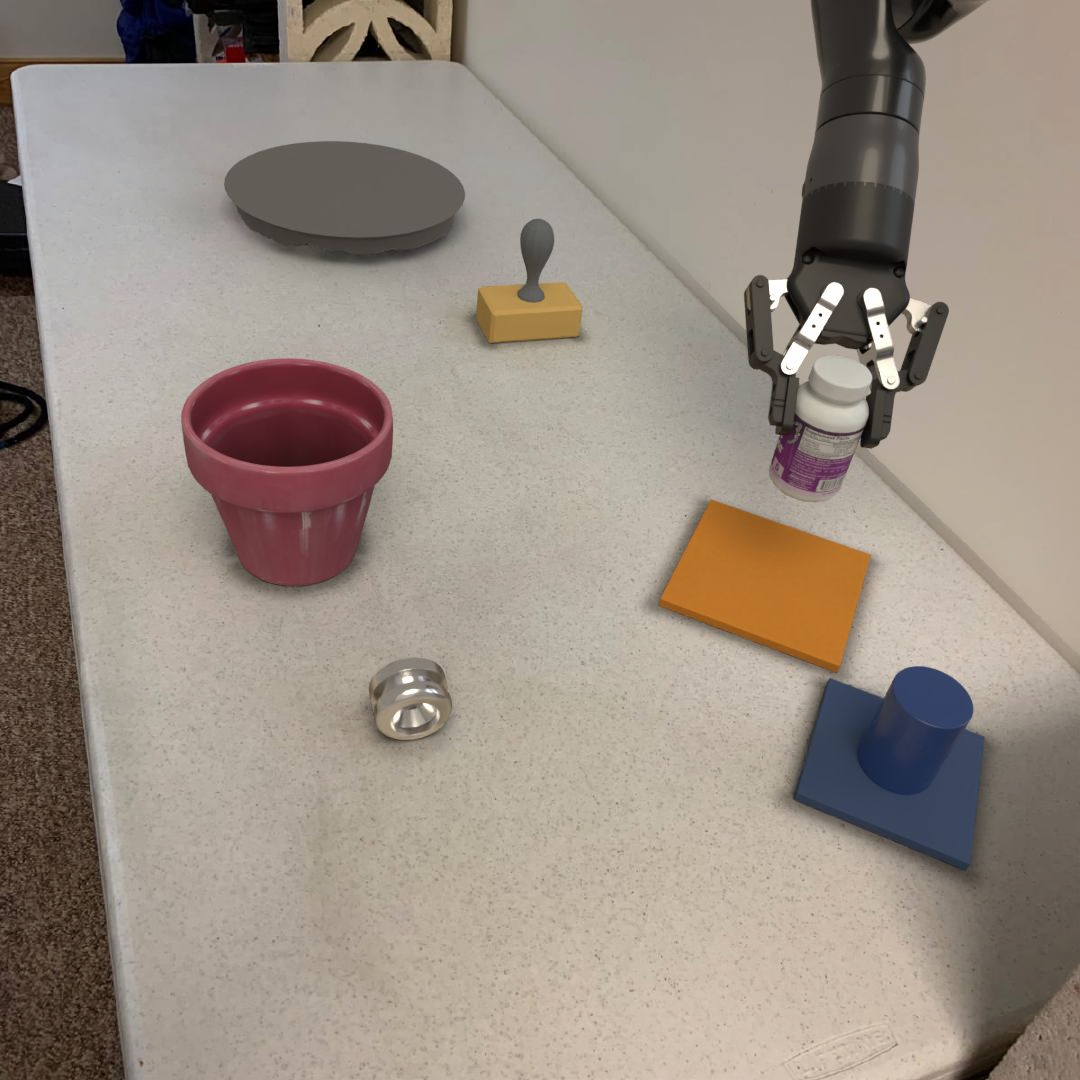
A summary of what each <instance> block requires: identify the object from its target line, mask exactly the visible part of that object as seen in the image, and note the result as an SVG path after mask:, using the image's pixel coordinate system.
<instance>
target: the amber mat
mask: <svg viewBox="0 0 1080 1080" xmlns="http://www.w3.org/2000/svg"><path fill="white" fill-rule="evenodd" d="M871 556H872V555H871V554H870V553H867V552H864V551H861V550H859V549H856V548H853V547H850V546H848V545H845V544H842V543H838V542H836V541H833V540H830V539H827V538H824V537H821V536H819V535H815V534H812V533H810V532H806V531H804V530H801V529H798V528H795V527H792V526H789V525H786V524H784V523H781V522H778V521H775V520H772V519H769V518H766V517H764V516H762V515H761V516H760V515H757V514H755V513H752V512H749V511H746V510H743V509H740V508H738V507H735V506H732V505H729V504H725V503H723V502H720V501H718V500H714V499H710V500H709V501H708V503H707V506H706V508H705V510H704V512H703V514H702V516H701V517H700V519H699V522H698V523H697V525H696V528H695V530H694V532H693V534H692V535H691V536H690V539H689V542H688V543H687V545H686V547H685V549H684V551H683V553H682V555H681V557H680V558H679V561H678V563H677V565H676V567H675V569H674V571H673V573H672V575H671V577H670V579H669V580H668V582H667V584H666V586H665V588H664V591H663V593H662V595H661V596H660V598H659V602H658V606H659V607H661V608H664V609H667V610H669V611H672V612H675V613H678V614H679V615H683V616H684V617H685V616H686V617H688V618H691V619H693V620H696V621H698V622H701V623H704V624H706V625H709V626H712V627H714V628H717V629H720V630H723V631H725V632H728V633H730V634H733V635H734V636H735V635H736V636H738V637H741V638H744V639H746V640H749V641H752V642H754V643H756V644H760V645H762V646H765V647H768V648H770V649H773V650H775V651H777V652H780V653H783V654H787V655H789V656H791V657H794V658H797V659H800V660H801V661H804V662H807V663H810V664H812V665H815V666H818V667H820V668H823V669H825V670H828V671H830V672H834V673H838V672H839V670H840V667H841V665H842V661H843V659H844V654H845V650H846V647H847V643H848V639H849V635H850V632H851V629H852V625H853V621H854V617H855V614H856V610H857V607H858V603H859V600H860V596H861V592H862V589H863V585H864V581H865V577H866V574H867V570H868V567H869V563H870V560H871Z"/></svg>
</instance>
